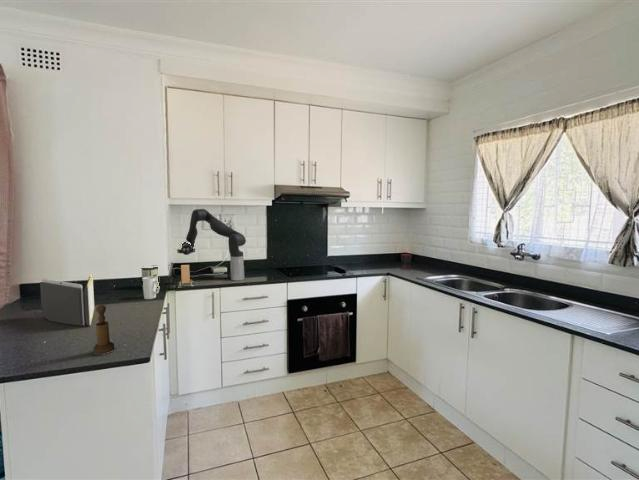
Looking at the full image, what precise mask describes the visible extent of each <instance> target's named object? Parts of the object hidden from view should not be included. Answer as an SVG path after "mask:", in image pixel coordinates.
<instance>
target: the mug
mask: <svg viewBox="0 0 639 480" xmlns="http://www.w3.org/2000/svg"><path fill="white" fill-rule="evenodd" d="M142 279H143V285H142V291H143V299H144V300H151V299H152V300H153V299H155V298H157V294H159V292H160V288H161V287H160V286H161V285H160V286H159V283H160V281H159V282H158V280H155V277H144V278H142V277H141V280H142ZM156 284H157V286H158V288H157V289H156Z"/></svg>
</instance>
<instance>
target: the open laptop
mask: <svg viewBox="0 0 639 480" xmlns="http://www.w3.org/2000/svg"><path fill="white" fill-rule="evenodd" d="M39 286H40V287H39V289H40V304H41V316H42V317H43V318H45V319H46V320H48V321H50V322H54V323H59V324H62V325H63V324H65V325H73V326H82V325H83V326H85V324H86V326H91V325H92V320H93V317H94V312H95V295H94V294H95V293H94V277H93V273H91V274H90V276H89V277H88V279H87V282H86V285H85V288H84V289H83V285H82V284H80V283H74V282H67V281H62V280H61V281H60V280H55V279H54V280H53V279H50V278H49V279H48V278H42V279H41V282H39Z"/></svg>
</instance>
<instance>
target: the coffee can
mask: <svg viewBox="0 0 639 480" xmlns="http://www.w3.org/2000/svg"><path fill="white" fill-rule="evenodd" d="M140 269H142V270H141V281H143V279H142V278H144V277H155V280H158V267H153V268H141V267H140ZM157 287H158V286H157V284H156V290H157Z"/></svg>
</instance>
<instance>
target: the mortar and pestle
mask: <svg viewBox="0 0 639 480" xmlns="http://www.w3.org/2000/svg"><path fill="white" fill-rule="evenodd" d="M106 310H107V307H106V306H105V305H103V304H101V305H98V306H96V312H97V314H98V318H97V321H98V323H96V324H95V326H96V327H95V328H96V341H97V343H96V344H95V345H94V347H93V349H92V350H93V354H94V353H96V354H103V353H107V352H110V351H112V350H114V351H115V344H114V342H112V341H110V329H109V322H108V321H106V316H105V313H106Z"/></svg>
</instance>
